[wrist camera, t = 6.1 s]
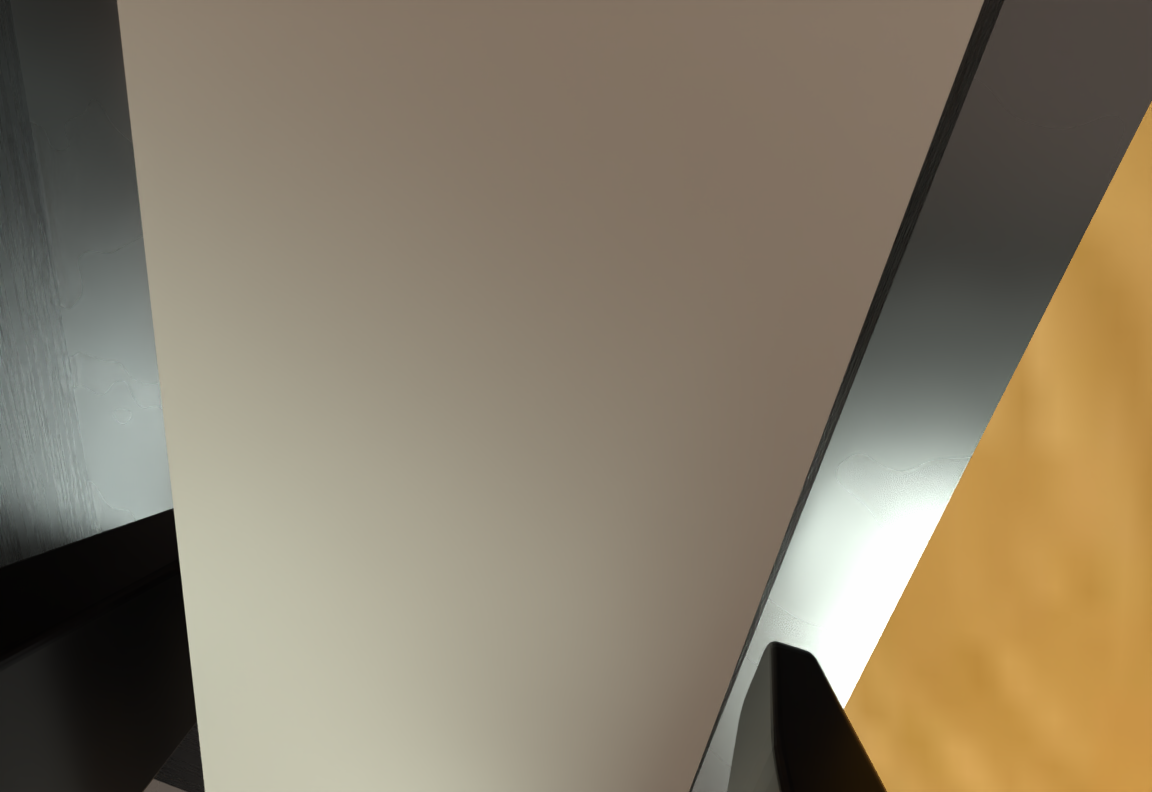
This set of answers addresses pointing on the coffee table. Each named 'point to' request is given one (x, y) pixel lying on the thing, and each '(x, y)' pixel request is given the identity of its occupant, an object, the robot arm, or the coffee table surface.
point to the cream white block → (503, 358)
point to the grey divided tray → (859, 414)
